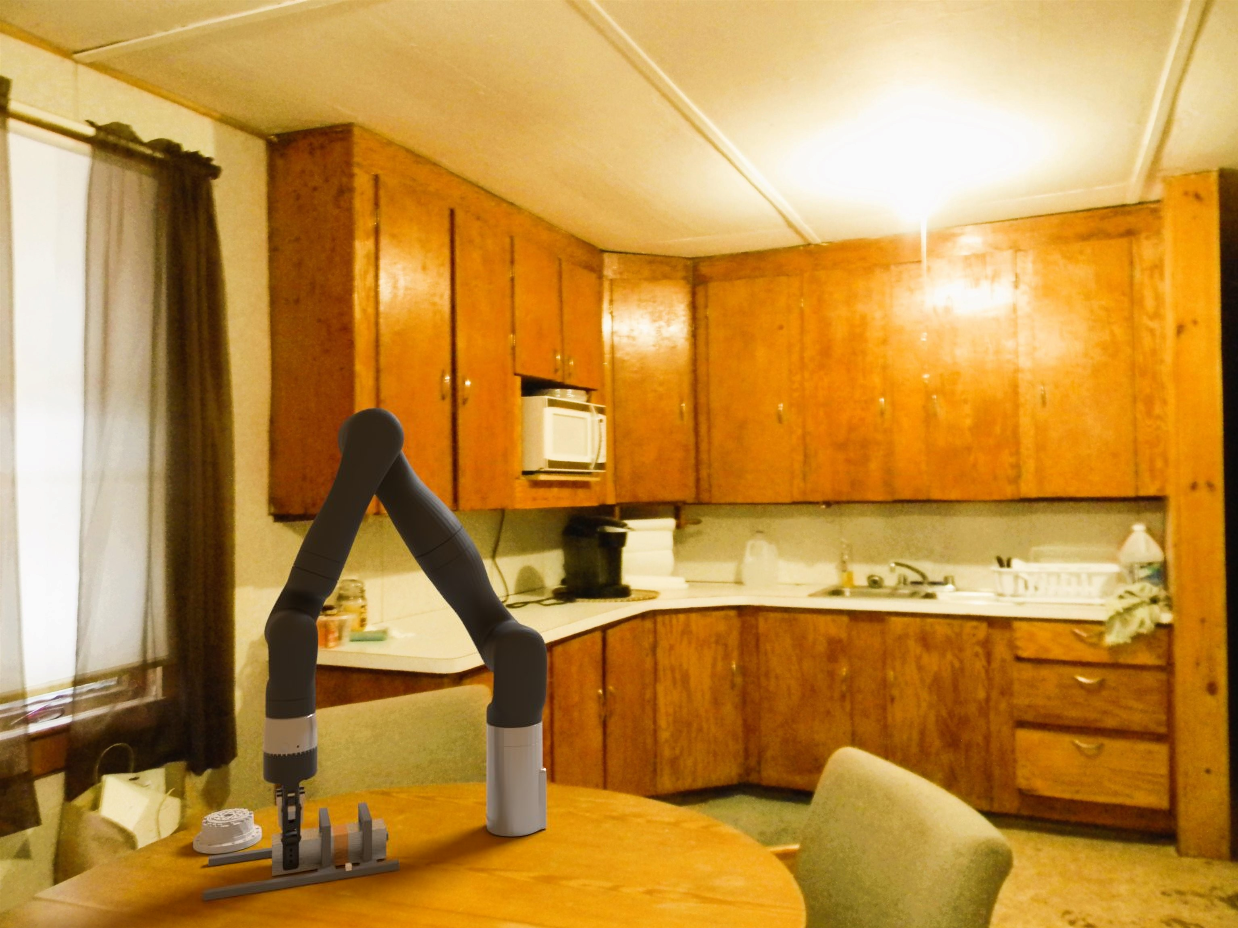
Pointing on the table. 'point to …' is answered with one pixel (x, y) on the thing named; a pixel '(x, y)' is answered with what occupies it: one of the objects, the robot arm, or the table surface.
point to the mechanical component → (227, 832)
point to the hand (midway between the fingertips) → (290, 861)
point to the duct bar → (342, 846)
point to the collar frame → (322, 875)
